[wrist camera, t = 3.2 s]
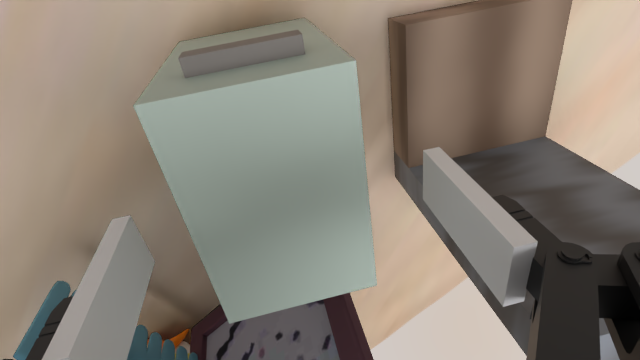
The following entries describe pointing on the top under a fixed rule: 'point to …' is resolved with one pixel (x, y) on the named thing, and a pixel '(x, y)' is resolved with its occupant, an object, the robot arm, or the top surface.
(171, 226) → the top surface
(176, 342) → the blue toy animal
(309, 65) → the cabinet box
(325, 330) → the picture frame
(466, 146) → the grey bookend
